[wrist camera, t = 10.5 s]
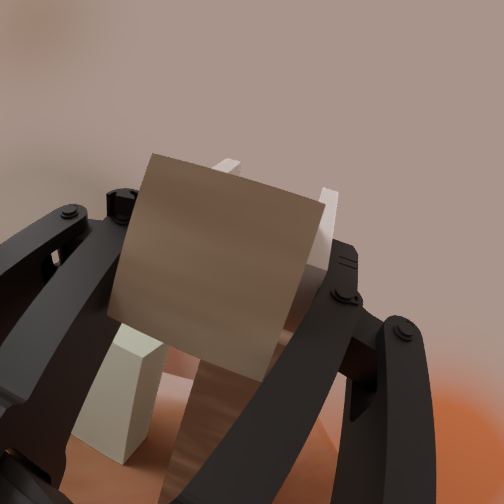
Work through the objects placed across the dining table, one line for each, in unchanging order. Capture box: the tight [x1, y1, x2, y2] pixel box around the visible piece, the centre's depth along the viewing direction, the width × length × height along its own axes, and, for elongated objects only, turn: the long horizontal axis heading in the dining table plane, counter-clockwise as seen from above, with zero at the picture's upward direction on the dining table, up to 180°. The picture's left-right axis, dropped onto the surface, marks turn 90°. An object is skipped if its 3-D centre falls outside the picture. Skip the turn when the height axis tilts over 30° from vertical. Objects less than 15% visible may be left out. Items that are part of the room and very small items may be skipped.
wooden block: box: [158, 329, 294, 504], centre depth 35 cm, size 14×10×29 cm
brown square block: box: [107, 153, 326, 382], centre depth 21 cm, size 30×5×5 cm, turn 170°
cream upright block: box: [71, 323, 169, 465], centre depth 39 cm, size 9×14×20 cm, turn 80°
